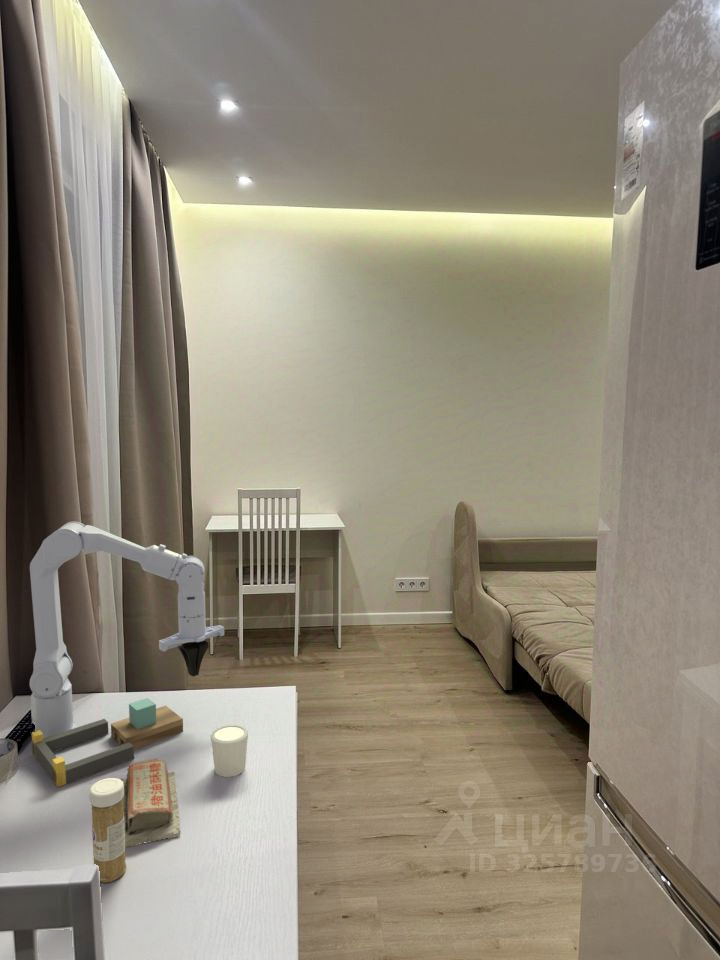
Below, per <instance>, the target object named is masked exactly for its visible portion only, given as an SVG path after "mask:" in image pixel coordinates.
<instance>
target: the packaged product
mask: <svg viewBox="0 0 720 960" xmlns="http://www.w3.org/2000/svg"><path fill="white" fill-rule="evenodd" d="M167 767H168V766H167V763H166V761H165V760H163V759H158V758H154V759H149V760H144V761H138V762H133V763H132V762H131V763H130V764H128V768H127V774H126V778H125V779H124V778H119V779H120V780H121V781H122V782H123V784H124V796H123V810H124V824H125V848H127V847H126V846H130V847H132V846H131V845H135V846H137V845H136V844H139V843H144V842H149V841H154V842H157V841H156V840H158V841H161V839H163V840H167V839H166V838H168V839H172V838H171V837H173V838H175V837H174V836H177V837H179V836H178V835H180V836H181V832H182V831H181V821H180V820H181V818H180V812H179V804H178V803H179V802H178V796H177V795H178V794H177V793H178V792H177V783H176V778H175V771H169V772H168V769H167ZM149 843H150V842H149ZM139 845H140V844H139Z"/></svg>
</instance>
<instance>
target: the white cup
mask: <svg viewBox="0 0 720 960" xmlns="http://www.w3.org/2000/svg"><path fill="white" fill-rule="evenodd" d="M248 737H249V732H248V729H247V728H246V727H244V726H241V725H237V724H230V725H229V724H228V725H224V726H220V727H217V728H216V729H213V731H212V732H211V734H210V742H211V749H212V757H213V758H212V760H213V765H214V771H215V774H216V775H217V774H218V775H217V776H219V775H220V777H222V776H223V777H222V778H231V776H233V777H237V776H238V774H239V775H240V773H241V772H242V773H244V771H245V770H244V769H246V764H247V763H246V762H247V751H248V741H249V740H248ZM242 773H241V774H242ZM236 775H237V776H236Z"/></svg>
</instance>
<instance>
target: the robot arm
mask: <svg viewBox="0 0 720 960" xmlns="http://www.w3.org/2000/svg"><path fill="white" fill-rule="evenodd" d="M166 548H167V545H165V544H162V543H160V544H159V546H158V545H156V544H153V545H150V546H148V547H144V546H141V545H140V544H137V543H134V542H133V541H132V542H131V541H130V540H127V539H125V538H122V537H120V536H117V535H115V534H113V533H110V532H108V531H106V530H103V529H101V528H98V527H97V526H93V525H89V524H86V525H85V524H84V523H82V522H79V521H69V522H66V523H65V524H63V525H62V526H61V527H59V528H58V529H57V530H55V531H54V532H52V533H51V534H50V535H48V536H47V537H46V538H44V539H43V540H42V543H41V545H40V547H39V549H38V550H37V551H36V554H35V555H34V557H33V558H32V560H31V561H30V563H29V574H30V587H31V590H30V591H31V600H32V612H33V613H32V614H33V625H34V635H35V636H34V637H35V639H34V640H35V648H36V650H35V654H34V659H33V664H32V665H33V667H32V668H33V671H32V674H31V676H30V679H29V688H30V690H31V692H32V693H31V695H30V712H31V713H30V714H31V724H32V723H33V724H34V725H35V731H38V730H40V731H41V732H42V733H43V738H46V737H49V736H52V735H55V734H58V733H61V732H64V731H68V730H71V729H74V728H77V727H79V725H78V724H77V723H75V722H74V710H73V690H72V687H73V685H72V683H71V682H70V680H69V678H68V677H69V675H70V674H71V673H72V671H73V665H74V663H73V661H72V658H71V657H70V655H69V654H68V651H67V646H66V644H65V643H64V637H63V626H62V624H63V623H62V612H61V610H62V607H61V598H60V597H61V596H60V585H59V584H60V583H59V569H60V567H61V566H63V564H64V563H65V562H68V561H70V560H72V559H74V558H76V557H77V556H78V555H79V554H80V553H81V551H82V550H83V555H89V554H92V553H97V552H104V553H107V554H111V555H115V556H118V557H121V558H123V559H127V560H130V561H134V562H136V563H139V565H140V567H141V569H142V571H145V572H148V573H150V574H153V575H155V576H159V577H162V578H164V579H166V580H170V581H175V582H176V584H177V585H178V593H177V615H178V616H177V617H178V618H177V619H178V622H177V623H178V632H177V633H175V634H173V635H170V636H168V637H165V638H163V639H159V640H158V649H159V650H160V651H162V652H167V651H168V650H171V649H173V648H178V650H179V652H180V653H181V655H182V657H183V660H184V662H185V665H186V668H187V672H188V675H190V676H191V677H196V676H199V673H200V669H201V665H202V662H203V658H204V656H205V654H206V652H207V650H208V648H209V642H208V641H206V640H207V639H211V638H215V637H218V636H219V637H223V636H225V627H224V626H222V625H220V624H218V625H213V626H207V621H206V592H205V591H204V590H205V583H204V581H205V578H206V575H205V566H204V565H205V564H204V563H203V562H202V560H201V559H199V558H198V557H196V556H195V555H188V554H186V553H182V554H180V553H177V552H174V551H172V550H169V549H166Z"/></svg>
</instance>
